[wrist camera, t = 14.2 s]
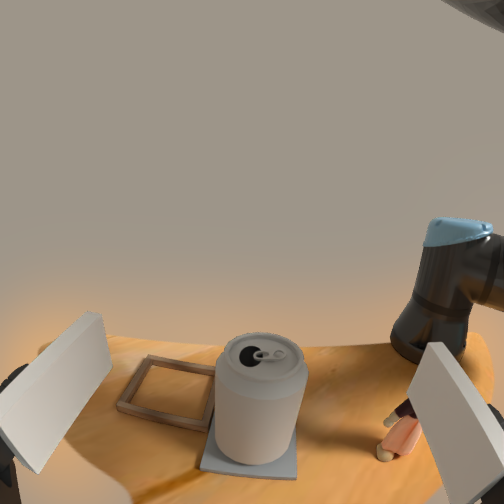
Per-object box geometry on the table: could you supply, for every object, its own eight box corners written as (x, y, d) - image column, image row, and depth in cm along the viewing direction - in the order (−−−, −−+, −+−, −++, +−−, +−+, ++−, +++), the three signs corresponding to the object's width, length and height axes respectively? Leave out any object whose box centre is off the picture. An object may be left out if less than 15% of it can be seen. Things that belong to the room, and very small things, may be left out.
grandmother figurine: (380, 473, 20) (437, 385, 17) (361, 451, 24) (406, 360, 20) (427, 443, 23) (478, 357, 19) (408, 425, 26) (451, 339, 23)
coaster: (294, 417, 29) (295, 413, 29) (295, 480, 21) (296, 477, 20) (215, 409, 30) (215, 405, 30) (199, 470, 21) (199, 467, 21)
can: (223, 410, 29) (226, 321, 26) (290, 419, 28) (310, 331, 25) (207, 461, 22) (204, 373, 18) (286, 473, 21) (315, 387, 18)
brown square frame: (223, 373, 36) (223, 367, 36) (207, 432, 26) (207, 427, 26) (148, 360, 37) (148, 354, 37) (117, 410, 27) (115, 404, 26)
